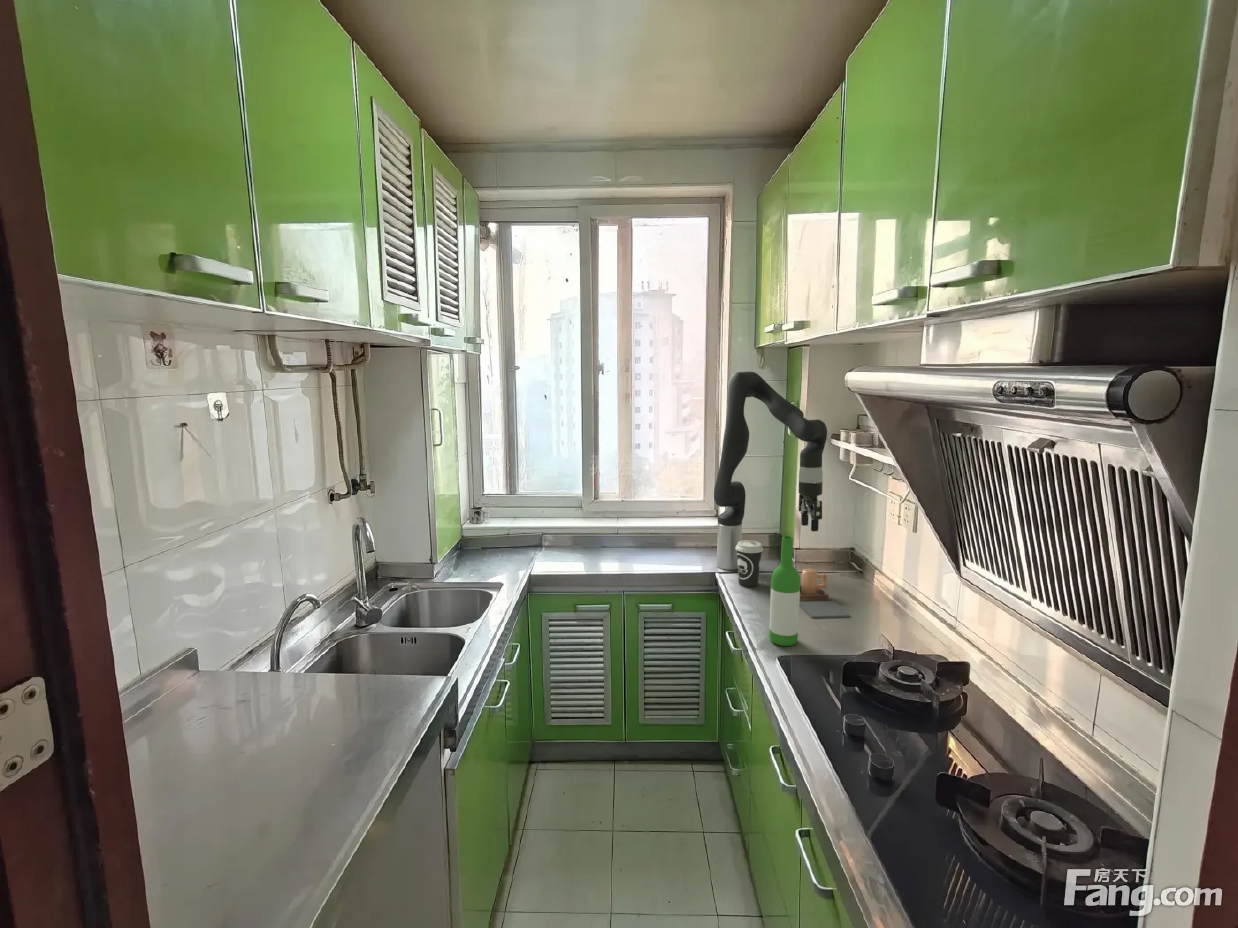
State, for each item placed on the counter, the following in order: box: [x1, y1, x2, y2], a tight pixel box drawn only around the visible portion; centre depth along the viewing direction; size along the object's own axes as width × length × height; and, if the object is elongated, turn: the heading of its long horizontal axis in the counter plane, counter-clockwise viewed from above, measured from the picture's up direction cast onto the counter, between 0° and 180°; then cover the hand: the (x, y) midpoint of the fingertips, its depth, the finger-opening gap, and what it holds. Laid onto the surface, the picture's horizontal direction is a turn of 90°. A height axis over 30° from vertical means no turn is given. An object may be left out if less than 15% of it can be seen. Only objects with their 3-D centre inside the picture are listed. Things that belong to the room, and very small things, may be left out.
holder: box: [799, 585, 830, 602], centre depth 204 cm, size 10×10×2 cm
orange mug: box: [800, 567, 828, 595], centre depth 203 cm, size 8×5×9 cm, turn 94°
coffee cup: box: [735, 539, 764, 588], centre depth 214 cm, size 10×10×15 cm
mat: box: [799, 600, 851, 619], centre depth 192 cm, size 12×12×1 cm
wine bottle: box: [768, 535, 801, 647], centre depth 168 cm, size 8×8×30 cm
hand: (809, 528), depth 202 cm, fingers open, 8 cm apart
